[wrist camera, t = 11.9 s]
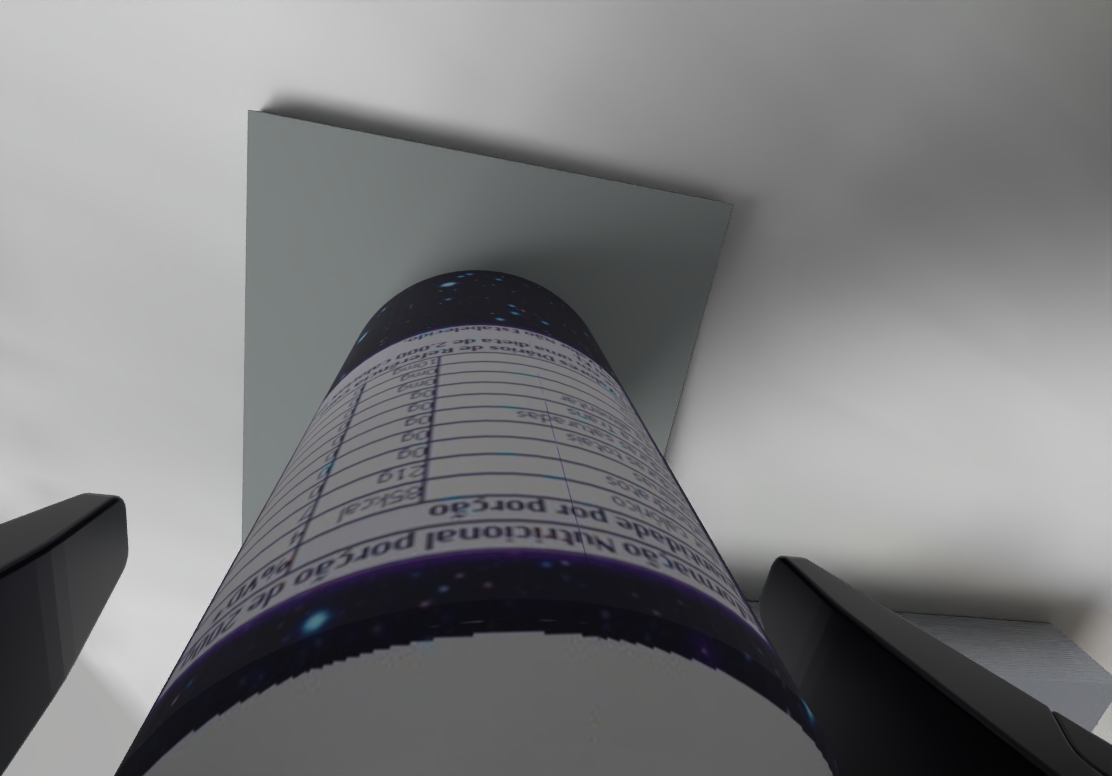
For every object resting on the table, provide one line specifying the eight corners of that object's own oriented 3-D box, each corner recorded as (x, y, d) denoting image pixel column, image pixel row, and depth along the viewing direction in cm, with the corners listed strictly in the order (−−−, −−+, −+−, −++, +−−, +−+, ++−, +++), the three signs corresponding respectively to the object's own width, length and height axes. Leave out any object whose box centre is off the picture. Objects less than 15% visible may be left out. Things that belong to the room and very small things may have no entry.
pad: (723, 202, 14) (733, 205, 14) (624, 562, 18) (630, 576, 17) (257, 110, 13) (248, 110, 12) (249, 531, 16) (241, 546, 16)
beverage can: (300, 396, 14) (-286, 1301, 3) (463, 204, 13) (409, 593, 2) (491, 528, 16) (529, 1377, 5) (647, 370, 15) (1120, 1026, 4)
